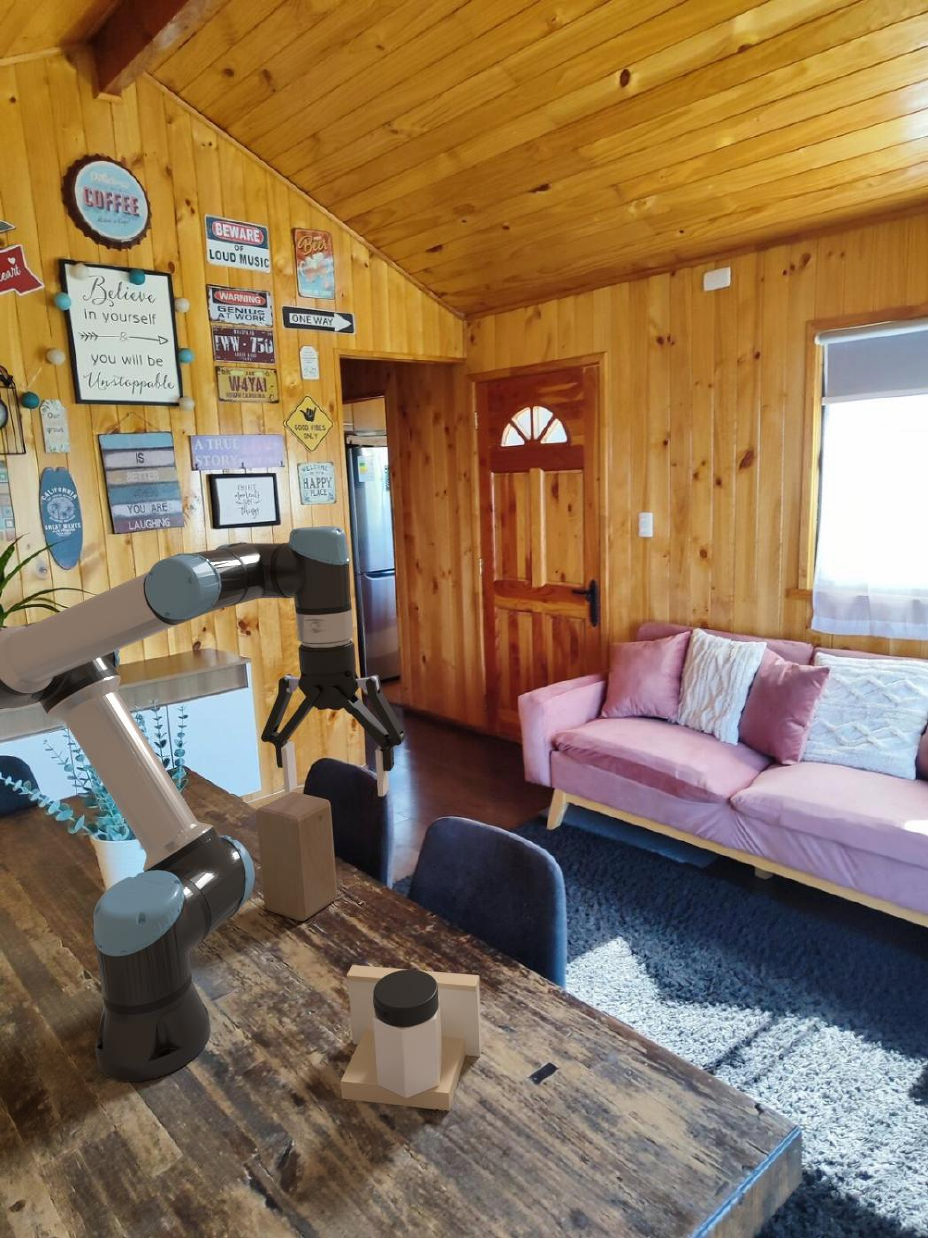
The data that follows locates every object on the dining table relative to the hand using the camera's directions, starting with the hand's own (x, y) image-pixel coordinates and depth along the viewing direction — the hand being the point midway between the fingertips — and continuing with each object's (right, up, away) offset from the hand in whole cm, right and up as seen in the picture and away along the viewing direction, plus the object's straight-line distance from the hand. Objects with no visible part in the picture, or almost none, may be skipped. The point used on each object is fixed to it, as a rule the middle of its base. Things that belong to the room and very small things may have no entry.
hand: (337, 791), depth 115 cm
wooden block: (-12, -29, +38) cm, 50 cm away
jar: (+11, -34, -10) cm, 37 cm away
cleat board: (+10, -36, -6) cm, 38 cm away
